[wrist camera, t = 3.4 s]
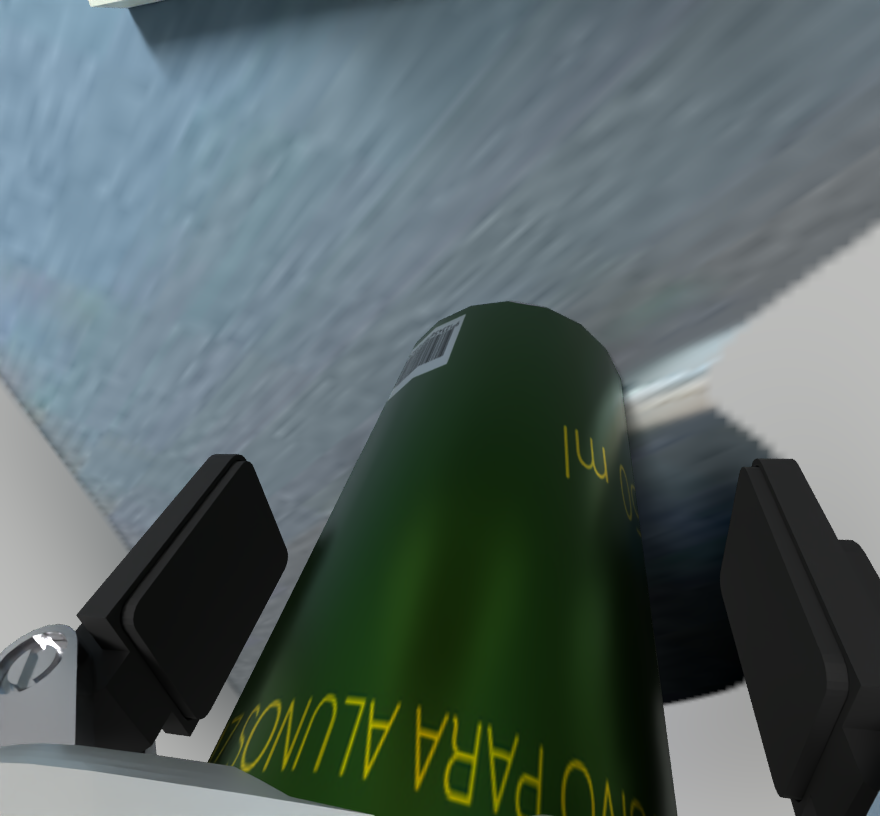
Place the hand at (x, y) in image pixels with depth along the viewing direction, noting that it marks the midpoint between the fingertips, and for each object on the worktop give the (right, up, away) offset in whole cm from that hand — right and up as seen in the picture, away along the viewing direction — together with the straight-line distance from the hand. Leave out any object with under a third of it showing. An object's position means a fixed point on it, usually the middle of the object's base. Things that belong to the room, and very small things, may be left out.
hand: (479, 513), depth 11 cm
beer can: (+1, +3, +4) cm, 5 cm away
